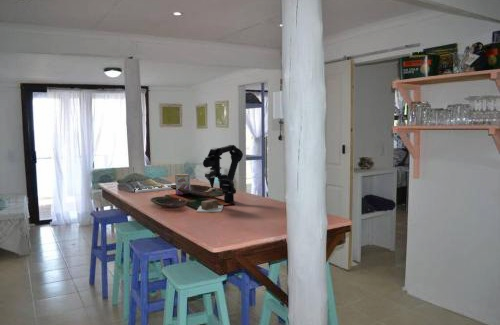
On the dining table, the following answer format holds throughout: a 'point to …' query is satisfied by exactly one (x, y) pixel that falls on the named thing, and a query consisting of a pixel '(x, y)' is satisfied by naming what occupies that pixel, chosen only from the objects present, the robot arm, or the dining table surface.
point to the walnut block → (209, 204)
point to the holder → (155, 189)
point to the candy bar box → (182, 182)
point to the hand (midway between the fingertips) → (216, 188)
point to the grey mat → (210, 209)
